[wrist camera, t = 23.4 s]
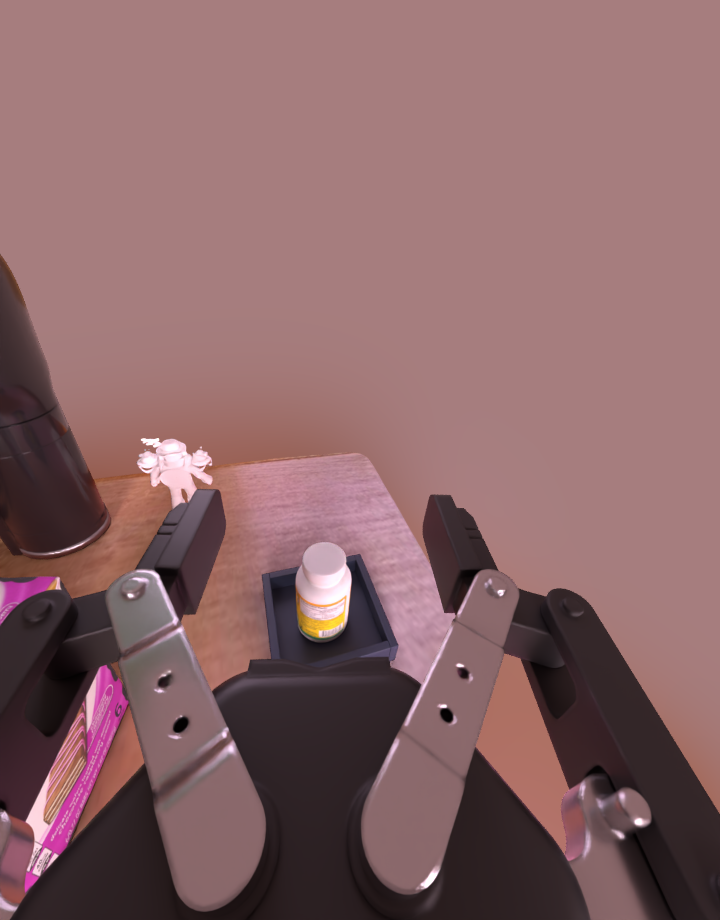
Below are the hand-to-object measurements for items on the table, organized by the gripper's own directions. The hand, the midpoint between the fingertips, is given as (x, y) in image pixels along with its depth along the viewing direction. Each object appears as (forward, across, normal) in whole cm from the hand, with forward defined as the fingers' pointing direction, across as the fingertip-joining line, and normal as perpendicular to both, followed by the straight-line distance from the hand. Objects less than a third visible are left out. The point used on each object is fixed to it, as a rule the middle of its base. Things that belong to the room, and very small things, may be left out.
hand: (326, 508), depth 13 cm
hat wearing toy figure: (+30, +20, +26) cm, 44 cm away
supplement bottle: (+11, 0, +26) cm, 28 cm away
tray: (+11, 0, +26) cm, 28 cm away
